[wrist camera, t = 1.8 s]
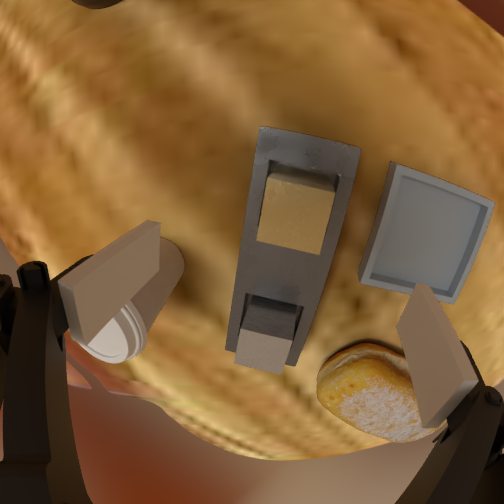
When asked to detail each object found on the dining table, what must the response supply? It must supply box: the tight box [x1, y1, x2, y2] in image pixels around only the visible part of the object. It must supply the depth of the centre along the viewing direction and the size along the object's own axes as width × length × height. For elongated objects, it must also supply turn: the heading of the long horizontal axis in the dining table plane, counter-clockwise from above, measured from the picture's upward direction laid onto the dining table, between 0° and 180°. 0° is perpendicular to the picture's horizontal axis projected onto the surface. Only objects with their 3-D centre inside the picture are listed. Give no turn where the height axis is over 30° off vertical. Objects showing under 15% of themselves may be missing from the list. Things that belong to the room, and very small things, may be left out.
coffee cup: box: [69, 237, 185, 363], centre depth 30 cm, size 10×10×15 cm
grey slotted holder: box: [225, 126, 361, 366], centre depth 31 cm, size 26×9×4 cm, turn 171°
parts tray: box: [358, 161, 495, 304], centre depth 27 cm, size 13×13×2 cm
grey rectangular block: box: [234, 295, 297, 375], centre depth 31 cm, size 5×5×8 cm
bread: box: [316, 343, 447, 442], centre depth 35 cm, size 13×26×8 cm, turn 57°
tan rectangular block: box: [256, 164, 335, 255], centre depth 25 cm, size 5×5×8 cm
